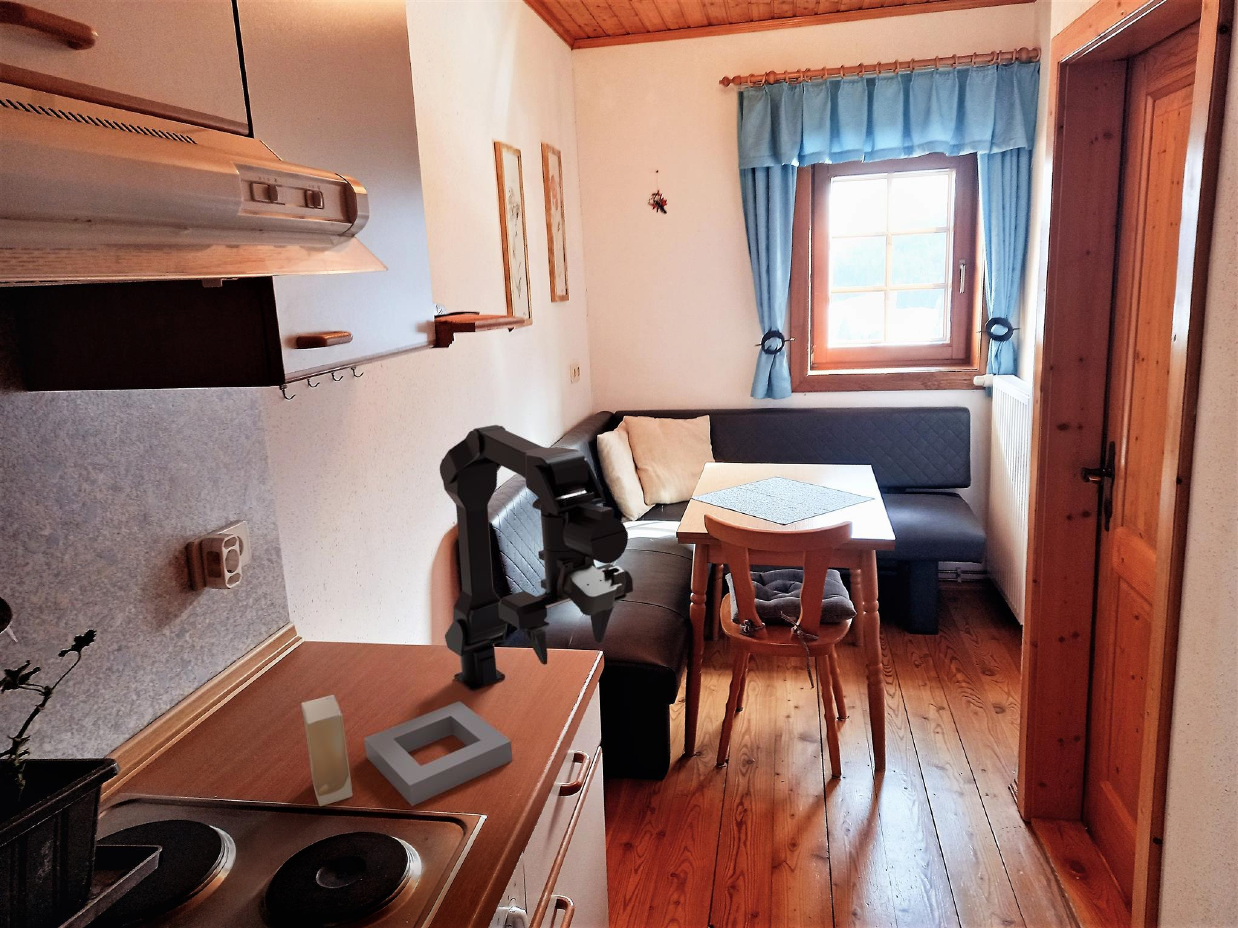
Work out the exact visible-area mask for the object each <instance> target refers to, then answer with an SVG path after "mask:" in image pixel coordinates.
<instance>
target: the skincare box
mask: <svg viewBox="0 0 1238 928" xmlns="http://www.w3.org/2000/svg"><path fill="white" fill-rule="evenodd" d="M301 709H302V715H303V720H304V721H303V722H304V723H303V724H304V728H305V735H306V742H307V748H308V749H307V750H308V756H309V763H310V764H309V765H310V769H311V778H312V784H313V788H314V789H313V790H314V794H315V797H316V800H317V802H318V806H320V807H322V806H326V805H329V804H331V803H332V804H333V803H336V802H340V801H343V800H345V799H349V798H351V797H353V788H352V787H353V786H352V780H351V773H350V765H349V758H348V750H347V749H348V748H347V743H346V736H345V735H346V734H345V728H344V719H343V714H342V711H341V709H340V705H339V703H338V700H337V698H336V696H335V694H330V695H326V696H323V697H319V698H316V699H312V700H311V699H310V700H307V701H304V702H301Z"/></svg>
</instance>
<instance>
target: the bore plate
mask: <svg viewBox="0 0 1238 928" xmlns="http://www.w3.org/2000/svg"><path fill="white" fill-rule="evenodd" d="M451 735H454V737H455V738H457V739H458V740H459V741H460V742H462V744H464V745H465V747H462V748H461V749H458V750H455V751H453V752H451V753H449V754H447V755H444V756H441V757H440V758H437V759H435V760H432V761H430V762H427V763H425V764H423V765H421V764H420V763H419V762H418V761H416V760H415V759H414V757H412V756H411V754H409V753H410V752H413V751H415V750H417V749H420V748H423V747H425V746H427V745H430V744H432V743H434V742H437V741H439V740H442V739H445V738H447V737H449V736H451ZM363 739H364V745H365V746H364V749H365V753H366V758H367V759H368V761H370V762H371V764H373V766H374V767H376V769H377V770H378V771H379V772H380V773H381V774H382V775H383V776H384V778H385V779H387V781H388V782H389V783H390V784H391V785H392V786H393V787H394V789H396V791H397V792H399V794H400V795H401V796H402V797H403V798H404V799H405V800H406V802H407V803H409V804H410V806H411V807H414V806H416V805H418V804H420V803H423V802H425V801H427V800H428V799H431V798H434V797H435V796H438V795H439V794H442V793H445V792H447V791H449V790H450V789H453V788H456V787H457V786H460V785H462V784H464V783H466V782H469V781H471V780H472V779H475V778H477V777H480V776H481V775H484V774H486V773H488V772H491V771H493V770H495V769H496V768H499V767H501V766H503V765H505V764H508V763H510V762H512V761H513V760H514V759H513V749H512V740H510V739H509V738H508V737H506V736H505V735H504V734H502V733H501V732H500V731H498V729H496V728H495V727H494V726H492V725H491V724H490V723H488V722H487V721H486V720H484V718H482V717H481V716H479V714H477V713H476V712H474V711H473V710H472V709H471V708H469V707H468V706H467V705H465V704H464V703H463V702H461V701H455V702H453V703H451V704H448V705H446V706H443V707H441V708H438V709H435V710H434V711H431V712H428V713H425V714H423V715H420V716H417V717H415V718H412V719H409V720H407V721H405V722H401V723H400V724H397V725H395V726H392V727H390V728H387V729H385V730H382V731H379V732H376V733H374V734H371V735H368V736H366V737H364V738H363Z"/></svg>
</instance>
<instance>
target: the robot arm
mask: <svg viewBox="0 0 1238 928" xmlns="http://www.w3.org/2000/svg"><path fill="white" fill-rule="evenodd" d="M440 461H441V462H440V464H439V473H440V478H441V479H442V483H443V489H444V491H445V492H446V494H447V495H448V496H449V497H450V499H451V500H452V501H453V503H454V504H455V508H456V523H457V534H458V535H457V536H458V537H457V538H458V548H459V562H460V576H461V577H460V578H461V592H460V594H459V595H458V597H457V599H456V601H455V603H454V605H453V618H452V619H453V621H452V622H451V625H450V626H449V628H448V629H447V631H446V632H445V634H444V639H445V643H446V648H447V649H449V650H450V651H452V652H454V653H455V655H458V656H459V658H460V668H461V671H460V672H458V673H455V674H454V675H453V678H454V680H456V681H458V682H459V683H460V684H462V685H463V686H464V687H466V688H467V689H469V690H470V691H476V690H478V689H482V688H484V687H486V686H489V685H491V684H494V683H496V682H500V681H501V680H504V679H506V674H505V673H503V672H502V671H500V670H498V669H497V659H496V651H495V650H496V649H495V644H498V643H501V642H502V643H503V642H505V641H506V637H507V629H508V625H509V624H510V625H512V626H513V627H515V628H517V629H518V630H521V631H522V632H523V633H524V635H525V637H526V638H527V640H528V643H529V644H530V646H531V647H532V649H533V652H534V653H535V654H536V656H537V658H538V661H540V664H542V665H544V666H546V665H547V664H548V647H547V636H546V630H547V629H548V628H549V626H550V623H549V622H548V621H546V619H547V617H548V610H547V609H550V608H552V607H556V606H558V605H562V604H565V603H567V602H570V601H572V603H573V604H574V605H575V606H576V607H577V608H578V609H579V611H580V612H581V614H583V615H585V616H587V617H588V616H589V617H590V621H591V622H590V623H591V628H592V630H591V631H592V635H593V637H594V641H595V643H597V644H602V643H603V640H604V638H605V634H606V631H607V629H608V628H607V627H608V624H609V622H610V617H611V615H612V612H613V610H614V608H615V606H617V605H618V604H619V603H620V602H621V601H623V600H625V599H626V598H627V594H629V593H632V592H634V588H635V587H634V578H633V576H632V574H631V572H630V571H628V570H626V569H624V568H622V567H621V566H619V565H613V564H612V563H614V562H616V561H618V560H619V559H620V558H621V556H622V555H623V554H624V553H625V550H626V548H627V546H628V542H629V532H628V531H627V529H626V526H625V525H624V523H623V522H622V521H621V520H620V519H619V518H615V516H614V514H615V513H614V512H615V511H614V509H613V507H610V506H609V507H608V506H600V504H604V503H606V499H607V498H606V497H605V494H604V493H603V490H604V489H603V487H602V485H601V483H600V482H599V480H598V479H597V477H596V475H595V473H594V471H593V469H592V467H591V465H590V463H589V461H588V459H587V458H586V456H585V454H583V452H581V451H580V450H579V449H576V448H570V447H569V448H568V447H545V446H542V445H540V444H537V443H535V442H533V441H531V440H528V439H526V438H524V437H521V436H519V435H517V434H515V433H513V432H510V431H508V430H506V428H505V427H504V426H502V425H498V424H493V425H487V426H486V425H485V426H482V427H481V426H480V427H476V428H473V429H472V430H470V431H469V432H468V433H467V435H466V437H464V439H463V440H461V441H460V442H458V443H457V444H455V445H454V446H453V447H451V448H450V449H448V451H447V452H446V454H445V456H444V457H443V458H441V460H440ZM502 467H503V468H506V469H508V470H509V471H511V472H513V473H515V474H517V475H519V476H521V477H522V478H524V479H525V487H526V488H527V489H528V490H529V491H530V492H531V493H532V494H533V495H535V496H536V499H535V500H534V502H533V501H532V503H531V505H532V508H533V509H536V510H538V511H539V512H540V522H541V523H540V525H541V536H542V546H543V550H539V551H538V559H539V560H541V561H543V562H544V574H545V575H544V576H545V577H544V579H541V580H540V588H542V589H544V590H546V593H543V594H540V595H537V596H536V595H534V594H532V593H530V592H529V591H526V590H522V591H518V592H516V593H512V594H508V595H506V596H503V597H502V598H500V597H499V595H498V594H497V593H496V591H495V590H494V582H493V571H492V570H493V566H492V553H491V552H492V551H491V550H492V549H491V537H490V536H491V534H490V522H489V519H490V518H489V503H490V501H491V500H492V497H493V495H494V493H495V492H496V489H497V487H498V472H499V470H500V468H502ZM581 492H583V493H581ZM578 493H579V494H578ZM573 494H576V495H573ZM570 495H572V496H570ZM565 496H568V497H565ZM595 561H596V562H598V563H602V564H603V565H600V566H598V567H596V564H595Z"/></svg>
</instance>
